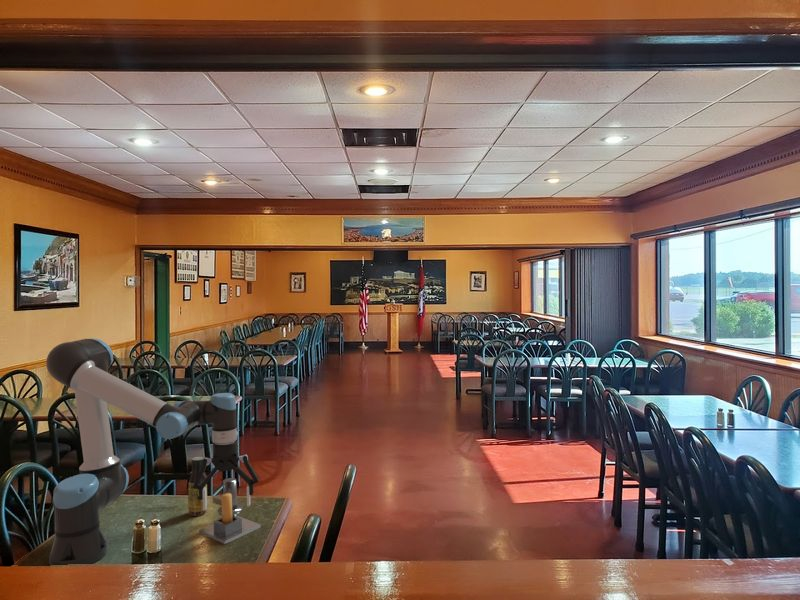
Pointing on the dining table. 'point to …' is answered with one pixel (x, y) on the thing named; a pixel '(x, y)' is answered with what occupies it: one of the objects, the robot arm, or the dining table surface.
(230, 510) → the orange cylinder
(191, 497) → the sauce bottle
